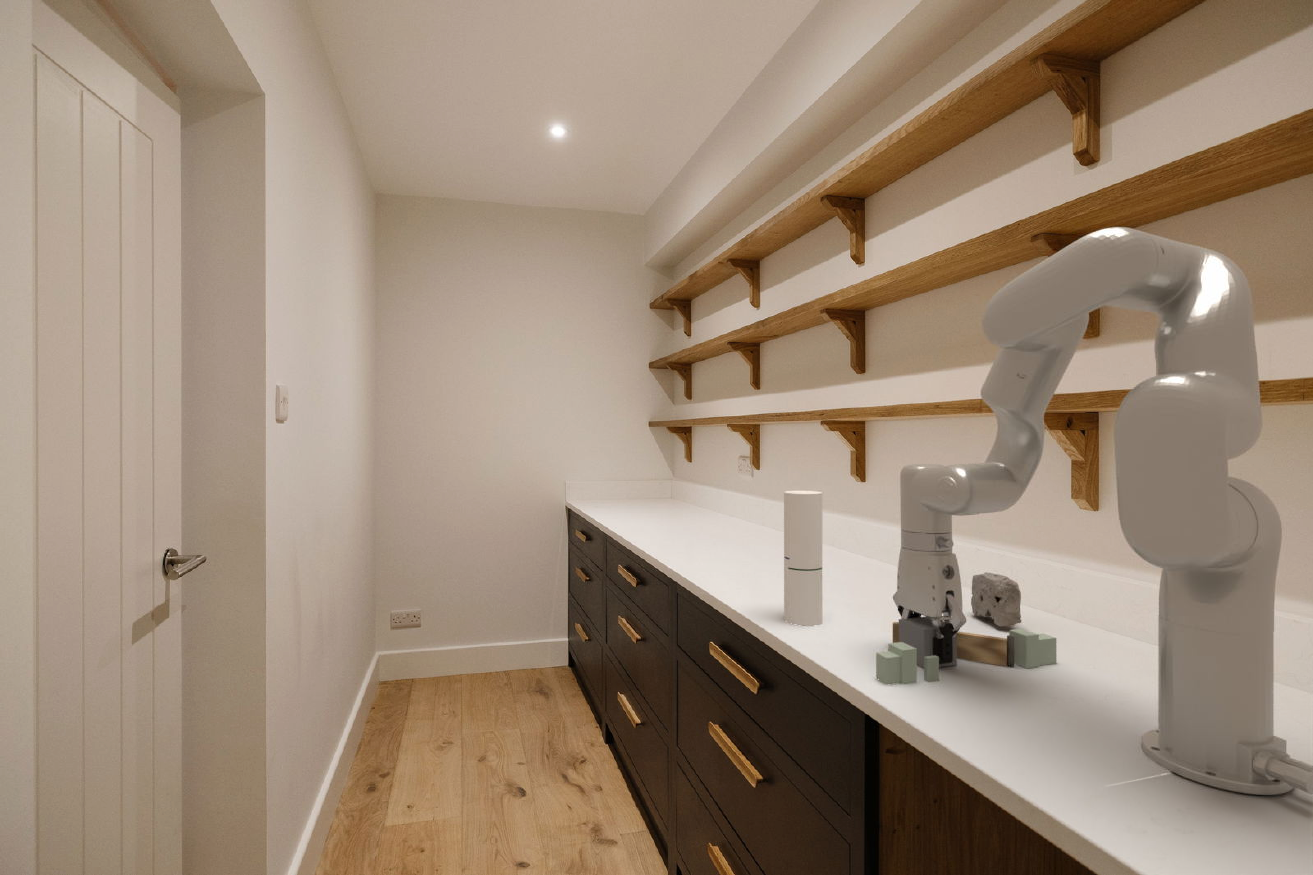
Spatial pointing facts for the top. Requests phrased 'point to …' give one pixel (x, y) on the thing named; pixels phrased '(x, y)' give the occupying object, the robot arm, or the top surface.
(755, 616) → the top surface
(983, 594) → the stone
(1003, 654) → the brown wooden plank
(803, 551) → the cylindrical container
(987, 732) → the top surface
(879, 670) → the grey-green stepped bar
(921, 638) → the rectangular block
